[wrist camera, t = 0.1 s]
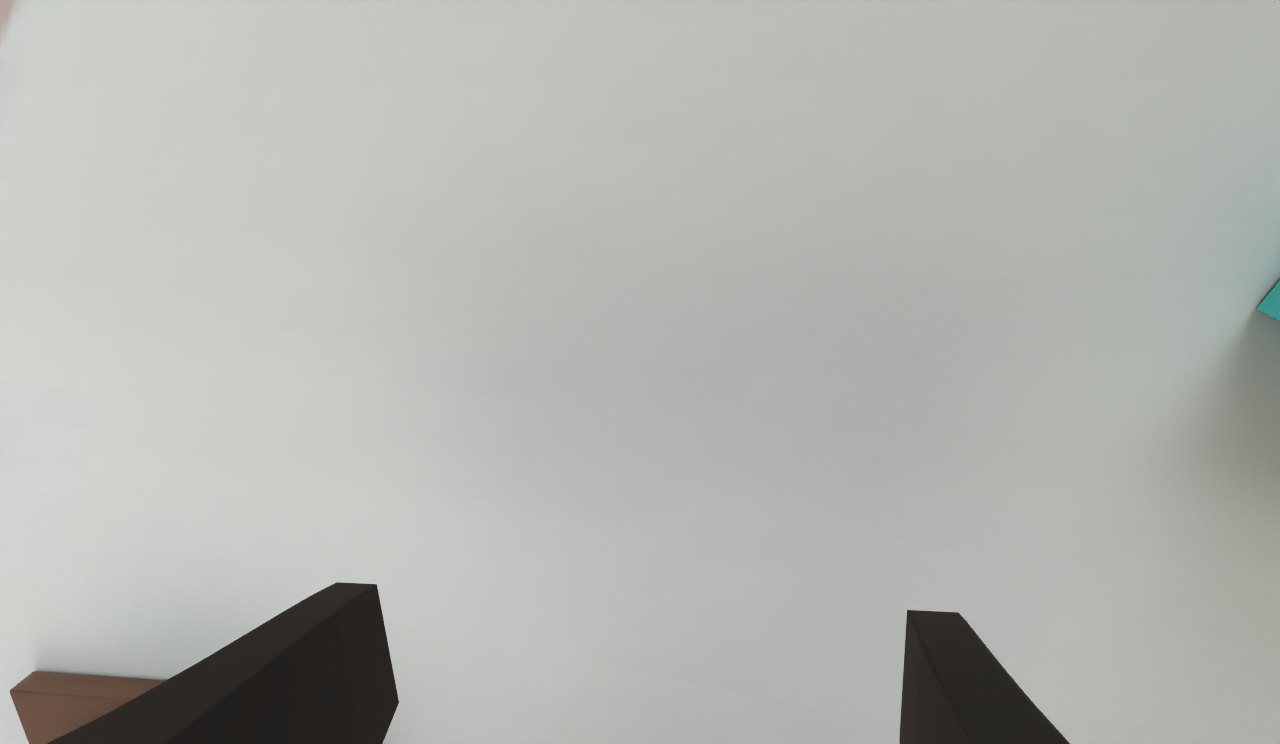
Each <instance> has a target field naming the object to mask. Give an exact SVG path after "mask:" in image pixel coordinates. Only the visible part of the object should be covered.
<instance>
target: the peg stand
mask: <svg viewBox="0 0 1280 744" xmlns="http://www.w3.org/2000/svg"><path fill="white" fill-rule="evenodd" d="M163 682H165V681H162V680H148V679H134V678H121V677H107V676H93V675H79V674H66V673H52V672H38V671H35V672H32V673H31V674H30V675H28V676H27V677H26V678H25V679H23V680H22V681H21V682H20V683H18V684H17V685H16V686H15V687H13V688H12V689H11V690H10V694H11V697H12V700H13V702H14V705H15V707H16V710H17V713H18V715H19V718H20V721H21V723H22V726H23V729H24V731H25V734H26V737H27V739H28V742H29V744H46V743H48V742H50V741H52V740H54V739H56V738H58V737H61V736H63V735H65V734H67V733H69V732H71V731H73V730H75V729H77V728H79V727H81V726H83V725H85V724H87V723H89V722H91V721H93V720H95V719H97V718H99V717H101V716H103V715H105V714H107V713H108V712H110V711H112V710H114V709H116V708H118V707H120V706H121V705H123V704H125V703H127V702H129V701H130V700H132V699H134V698H136V697H138V696H139V695H141V694H143V693H145V692H147V691H148V690H150V689H152V688H154V687H156V686H157V685H159V684H161V683H163Z"/></svg>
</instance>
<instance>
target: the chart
mask: <svg viewBox="0 0 1280 744" xmlns="http://www.w3.org/2000/svg"><path fill="white" fill-rule="evenodd" d="M1257 310H1259V311H1261V312H1263V313H1265V314H1267V315H1269V316H1270V317H1272V318H1274V319H1276V320H1278V321H1280V281H1279V282H1278V283H1277V284H1276V286H1275V287H1274V288H1273V289H1272V290H1271V292H1270V293H1269V294H1268V295H1267V297H1266V298H1265V299H1264V300H1263V301H1262V303H1261V304H1260V305H1259V306H1258V308H1257Z"/></svg>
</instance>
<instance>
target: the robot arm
mask: <svg viewBox="0 0 1280 744" xmlns="http://www.w3.org/2000/svg"><path fill="white" fill-rule="evenodd" d="M398 703H399V701H398V695H397V690H396V685H395V680H394V674H393V669H392V664H391V658H390V653H389V648H388V642H387V637H386V632H385V626H384V621H383V616H382V610H381V605H380V600H379V594H378V589H377V584H356V583H335V584H333V585H331V586H329V587H327V588H325V589H323V590H321V591H319V592H317V593H315V594H314V595H312V596H310V597H308V598H306V599H305V600H303V601H301V602H299V603H298V604H296V605H294V606H293V607H291V608H289V609H287V610H286V611H284V612H282V613H281V614H279V615H277V616H276V617H274V618H272V619H271V620H269V621H267V622H266V623H264V624H262V625H261V626H259V627H257V628H256V629H254V630H252V631H251V632H249V633H247V634H246V635H244V636H242V637H241V638H239V639H237V640H235V641H234V642H232V643H230V644H229V645H227V646H225V647H224V648H222V649H220V650H219V651H217V652H215V653H214V654H212V655H210V656H209V657H207V658H205V659H204V660H202V661H200V662H199V663H197V664H195V665H193V666H192V667H190V668H188V669H186V670H184V671H183V672H181V673H179V674H177V675H175V676H174V677H172V678H170V679H168V680H166V681H165V682H163V683H161V684H159V685H157V686H156V687H154V688H152V689H150V690H148V691H147V692H145V693H143V694H141V695H139V696H138V697H136V698H134V699H132V700H130V701H129V702H127V703H125V704H123V705H121V706H120V707H118V708H116V709H114V710H112V711H110V712H108V713H107V714H105V715H103V716H101V717H99V718H97V719H95V720H93V721H91V722H89V723H87V724H85V725H83V726H81V727H79V728H77V729H75V730H73V731H71V732H69V733H67V734H65V735H63V736H61V737H58V738H56V739H54V740H52V741H50V742H48V743H46V744H382V743H383V740H384V738H385V736H386V733H387V731H388V728H389V726H390V723H391V721H392V718H393V716H394V713H395V711H396V708H397V706H398ZM900 744H1070V743H1069V742H1068V741H1067V740H1066V739H1065V738H1064V737H1063V735H1062V734H1061V733H1060V732H1059V731H1058V730H1057V729H1056V728H1055V727H1054V725H1053V724H1052V723H1051V722H1050V721H1049V720H1048V719H1047V718H1046V717H1045V715H1044V714H1043V713H1042V712H1041V711H1040V710H1039V709H1038V708H1037V707H1036V706H1035V704H1034V703H1033V702H1032V701H1031V700H1030V699H1029V697H1028V696H1027V695H1026V694H1025V693H1024V692H1023V690H1022V689H1021V688H1020V687H1019V686H1018V685H1017V683H1016V682H1015V681H1014V680H1013V679H1012V677H1011V676H1010V675H1009V674H1008V673H1007V671H1006V670H1005V669H1004V668H1003V666H1002V665H1001V664H1000V663H999V662H998V660H997V659H996V658H995V657H994V655H993V654H992V653H991V652H990V650H989V649H988V648H987V647H986V645H985V644H984V643H983V642H982V640H981V639H980V638H979V637H978V635H977V634H976V633H975V631H974V630H973V629H972V628H971V626H970V625H969V624H968V623H967V621H966V620H965V619H964V618H963V617H962V616H961V615H960V614H959V613H955V612H934V611H914V610H907V623H906V640H905V657H904V673H903V690H902V707H901V724H900Z"/></svg>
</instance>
